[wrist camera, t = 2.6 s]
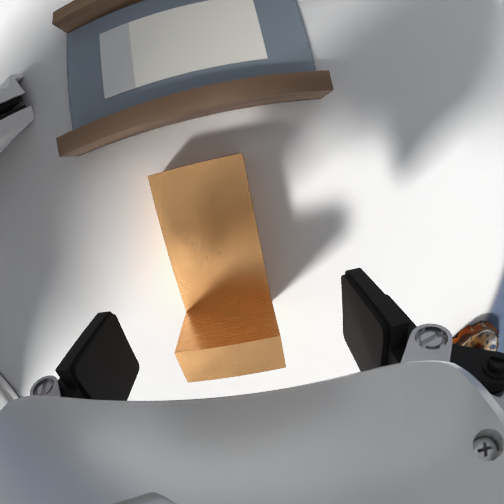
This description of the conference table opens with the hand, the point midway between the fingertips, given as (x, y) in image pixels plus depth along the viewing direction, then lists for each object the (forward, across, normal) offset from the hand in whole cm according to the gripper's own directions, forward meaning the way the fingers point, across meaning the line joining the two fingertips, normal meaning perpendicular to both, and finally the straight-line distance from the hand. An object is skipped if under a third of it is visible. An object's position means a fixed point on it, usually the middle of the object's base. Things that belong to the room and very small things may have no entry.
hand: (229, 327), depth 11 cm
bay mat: (+8, +1, -15) cm, 17 cm away
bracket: (+8, +1, -1) cm, 8 cm away
